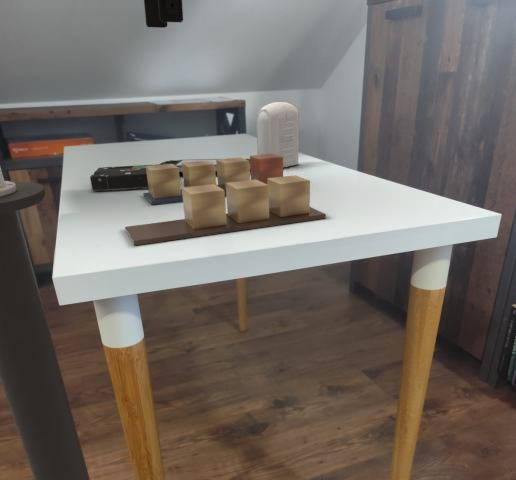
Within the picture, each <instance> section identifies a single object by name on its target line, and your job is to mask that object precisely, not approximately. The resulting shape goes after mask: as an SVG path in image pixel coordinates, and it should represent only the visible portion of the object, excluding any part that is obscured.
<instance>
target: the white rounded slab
mask: <svg viewBox="0 0 516 480" xmlns="http://www.w3.org/2000/svg"><path fill="white" fill-rule="evenodd" d="M299 122H300V115H299V110H298V108H297V107H296V106H295V105H293V104H292V103H289V102H285V101H275V102H271V103H267V104H266V105H264V106H262V107H261V108H260V109H259V110H258V112H257V114H256V148H257V149H256V151H257V154H256V155H264V154H275V155H279V156H282V157H283V168H287V167H291V166H296V165H298V163H299V139H300V138H299V137H300V131H299V130H300V126H299V124H300V123H299Z"/></svg>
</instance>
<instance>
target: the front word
mask: <svg viewBox="0 0 516 480" xmlns="http://www.w3.org/2000/svg"><path fill="white" fill-rule="evenodd" d="M216 185H217V184H216ZM216 185H215V184H211V185H202V186H193V187H184V186H183V187H181V189H182V195H183V201H182V203H183V213H184V218H182V219H175V220H165V221H161V222H160V221H159V222H151V223H145V224H137V225H136V224H135V225H130V226H129V225H128V226H124V230H125V233H126V234H127V236H128V238H129V239H130V241H131V243H132V244H133V246H134V247H135V246H141V245H142V246H143V245H150V244H157V243H162V242H169V241H170V242H171V241H177V240H184V239H191V238H198V237H205V236H212V235H219V234H227V233H233V232H240V231H247V230H253V229H262V228H268V227H274V226H281V225H289V224H295V223H303V222H310V221H317V220H323V219H326V216H327V214H326V213H325V212H322V211H320V210H318V209H315V208H313V207H311V205H310V204H311V180H310V179H308V178H304V177H302V176H299V175H297V174H294V175H293V174H292V175H285V176H284V175H283V177H275V178H267V184H265V183H263V182H260V181H258V180H251V179H250V180H247V181H238V182H229V183H226V196H225V191H224V190H223V189H221V188H220V187H218V186H216Z"/></svg>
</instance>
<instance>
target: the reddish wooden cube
mask: <svg viewBox="0 0 516 480" xmlns="http://www.w3.org/2000/svg"><path fill="white" fill-rule="evenodd" d="M249 159H250V171H251V172H250V180H258V181H260V182H263V183H265V184H267V178H275V177H284V167H283V157H282V156H279V155H275V154H264V155H257V154H255V155H250V156H249Z"/></svg>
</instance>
